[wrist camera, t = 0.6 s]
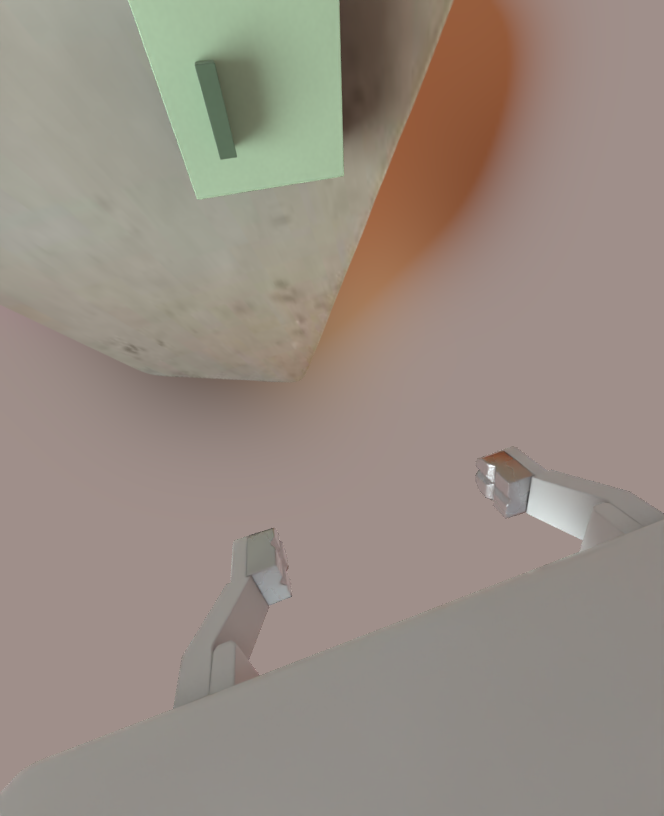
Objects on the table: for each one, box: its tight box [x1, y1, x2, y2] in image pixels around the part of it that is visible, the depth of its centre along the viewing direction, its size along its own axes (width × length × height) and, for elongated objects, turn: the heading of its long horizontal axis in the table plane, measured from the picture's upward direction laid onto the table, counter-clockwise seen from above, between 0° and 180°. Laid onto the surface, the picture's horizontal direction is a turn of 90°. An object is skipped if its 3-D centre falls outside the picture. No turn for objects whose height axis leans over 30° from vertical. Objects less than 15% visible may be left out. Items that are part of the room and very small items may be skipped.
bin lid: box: [128, 0, 344, 200], centre depth 29 cm, size 17×14×5 cm
